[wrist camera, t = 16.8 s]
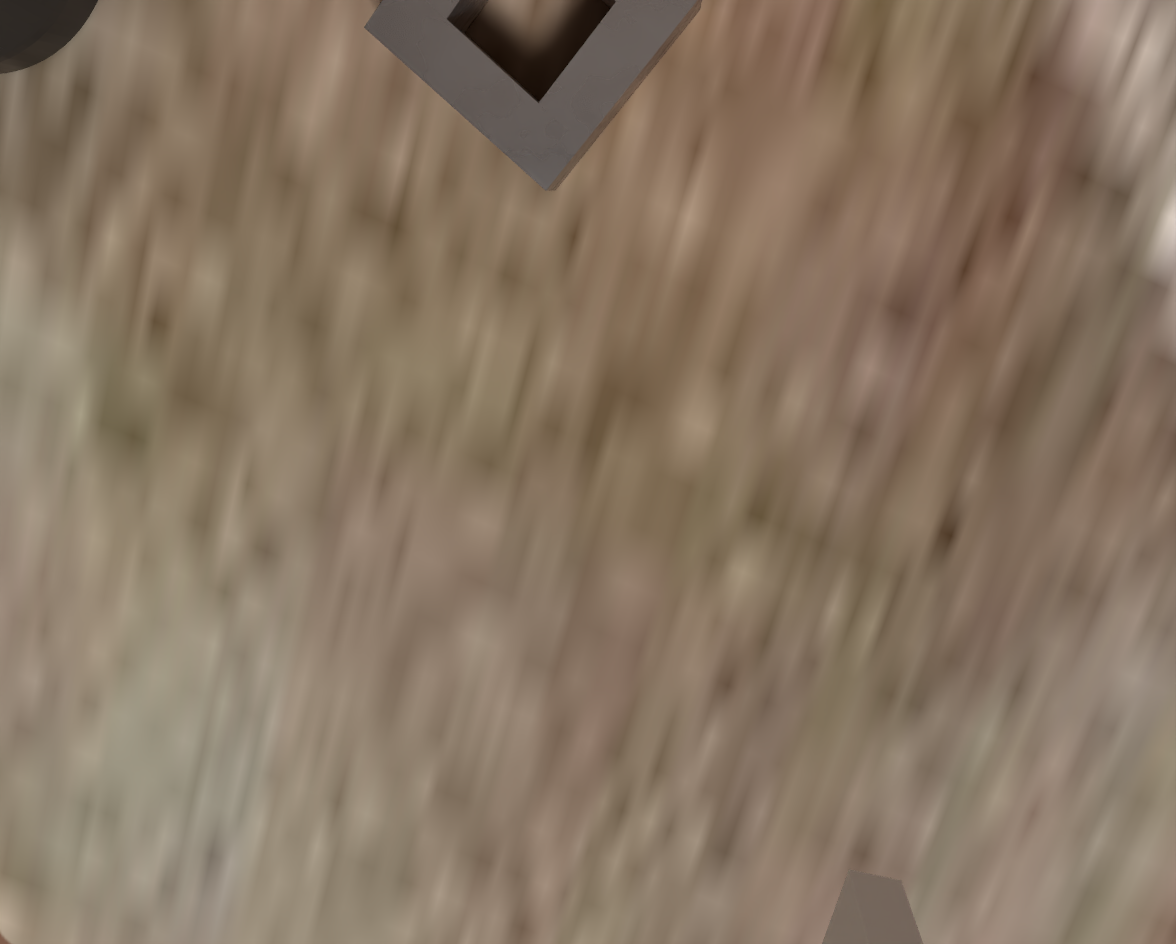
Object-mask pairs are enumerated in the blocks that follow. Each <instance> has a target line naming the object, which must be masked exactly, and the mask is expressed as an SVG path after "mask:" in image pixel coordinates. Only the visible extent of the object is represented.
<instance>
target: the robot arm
mask: <svg viewBox="0 0 1176 944" xmlns="http://www.w3.org/2000/svg"><path fill="white" fill-rule="evenodd" d="M97 1H98V0H0V74H1V73H8V72H13V71H17V70H21V69H24V68H27V67H30V66H32V65H35V64H37V63H39V62H41V61H43V60H45V59H47V58H48V57H50V56H51V55H53V54H54V53H56V52H57V51H58V50H60V49H61V48H62V47H64V46H65V45H66V44H67V43H68V42H69V41H70V40H71V39H72V38H73V37H74V36H75V35H76V33H77V32H78V31H79V30H80V29H81V27H82V26H83V25H84V23H85V22H86V20H87V19H88V17H89V16H90V14H91V12H92V11H93V9H94V7H95V5H96V3H97ZM822 944H923V942H922V939H921V936H920V933H919V930H918V927H917V925H916V922H915V919H914V916H913V913H912V910H911V907H910V904H909V901H908V898H907V895H906V892H905V890H904V887H903V884H902V881H901V880H897V879H892V878H887V877H883V876H878V875H873V874H868V873H864V872H859V871H854V870H850V869H849V871H848V874H847V876H846V879H845V882H844V885H843V887H842V890H841V893H840V896H839V899H838V901H837V904H836V907H835V910H834V912H833V915H832V918H831V921H830V923H829V926H828V929H827V932H826V934H825V937H824V940H823V943H822Z"/></svg>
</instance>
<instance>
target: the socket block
mask: <svg viewBox="0 0 1176 944" xmlns="http://www.w3.org/2000/svg"><path fill="white" fill-rule="evenodd" d="M487 1H488V0H382V2H381V3H380V5H379V6H378V8H377V9H376V11H375V12H374V14H373V15H372V16H371V18H370V19H369V21H368V22H367V24H366V25H365V27H364V28H365V29H366V30H368V31H369V32H370V33H371V34H372V35H373V36H374V37H375V38H376V39H378V40H379V41H380V42H381V43H382V44H383V45H384V46H385V47H387V48H388V49H389V50H390V51H391V52H392V53H393V54H394V55H395V56H397V57H398V58H399V59H400V60H401V61H402V62H403V63H404V64H405V65H407V66H408V67H409V68H410V69H411V70H412V71H413V72H414V73H415V74H417V75H418V76H419V77H420V78H421V79H422V80H423V81H424V82H425V83H427V84H428V85H429V86H430V87H431V88H432V89H433V90H434V91H436V92H437V93H438V94H439V95H440V96H441V97H442V98H443V99H444V100H446V101H447V102H448V103H449V104H450V105H451V106H452V107H453V108H454V109H456V110H457V111H458V112H459V113H460V114H461V115H462V116H463V117H464V118H466V119H467V120H468V121H469V122H470V123H471V124H472V125H473V126H475V127H476V128H477V129H478V130H479V131H480V132H481V133H482V134H483V135H485V136H486V137H487V138H488V139H489V140H490V141H491V142H492V143H493V144H495V145H496V146H497V147H498V148H499V149H500V150H501V151H502V152H503V153H505V154H506V155H507V156H508V157H509V158H510V159H511V160H512V161H514V162H515V163H516V164H517V165H518V166H519V167H520V168H521V169H522V170H524V171H525V172H526V173H527V174H528V175H529V176H530V177H531V178H532V179H534V180H535V181H536V182H537V183H538V184H539V185H540V186H541V187H542V188H544V189H545V190H546V191H550V190H556V189H557V188H558V187H559V185H560V184H561V183H562V182H563V180H564V179H565V178H566V177H567V175H568V174H569V173H570V172H571V170H572V169H573V168H574V167H575V165H576V164H577V163H578V162H579V160H580V159H581V158H582V157H583V155H584V154H585V153H586V151H587V150H588V149H589V148H590V146H591V145H592V144H593V143H594V141H595V140H596V139H597V138H598V136H599V135H600V134H601V133H602V131H603V130H604V129H605V128H606V126H607V125H608V124H609V123H610V121H611V120H612V119H613V118H614V116H615V115H616V114H617V113H618V111H619V110H620V109H621V108H622V106H623V105H624V104H625V103H626V101H627V100H628V99H629V98H630V96H631V95H632V94H633V93H634V91H635V90H636V89H637V88H638V86H639V85H640V84H641V83H642V81H643V80H644V79H645V78H646V76H647V75H648V74H649V73H650V71H651V70H652V69H653V68H654V66H655V65H656V64H657V63H658V61H659V60H660V59H661V58H662V56H663V55H664V54H665V53H666V51H667V50H668V49H669V48H670V46H671V45H672V44H673V43H674V41H675V40H676V39H677V38H678V36H679V35H680V34H681V33H682V31H683V30H684V29H685V28H686V26H687V25H688V24H689V23H690V21H691V20H692V19H693V18H694V16H695V15H696V14H697V13H698V11H699V10H700V7H701V2H702V0H602V1H603V2H604V3H605V4H606V5H608V6H609V7H610V8H611V9H610V10H609V12H608V13H607V14H606V15H605V17H604V18H603V19H602V21H601V22H600V23H599V25H598V26H597V27H596V29H595V30H594V31H593V32H592V34H591V35H590V36H589V38H588V39H587V40H586V42H585V43H584V44H583V46H582V47H581V48H580V49H579V51H578V52H577V53H576V55H575V56H574V57H573V59H572V60H571V61H570V63H569V64H568V65H567V66H566V68H565V69H564V70H563V72H562V73H561V74H560V76H559V77H558V78H557V80H556V81H555V82H554V83H553V85H552V86H551V87H550V89H549V90H548V91H547V93H546V94H545V95H544V97H543V98H542V99H541V101H540V102H539V101H538V100H537V99H536V98H535V97H534V96H533V95H532V94H531V93H530V92H529V91H527V90H526V89H525V88H524V87H523V86H522V85H521V84H520V83H519V82H518V81H516V80H515V79H514V78H513V77H512V76H511V75H510V74H509V73H508V72H507V71H506V70H504V69H503V68H502V67H501V66H500V65H499V64H498V63H497V62H496V61H495V60H494V59H492V58H491V57H490V56H489V55H488V54H487V53H486V52H485V51H484V50H483V49H482V48H480V47H479V46H478V45H477V44H476V43H475V42H474V41H473V40H472V39H471V38H470V37H468V36H467V35H466V34H465V32H466V31H467V29H468V28H469V26H470V25H471V24H472V22H473V21H474V19H475V18H476V17H477V15H478V14H479V12H480V11H481V10H482V8H483V7H484V5H485V4H486V3H487Z"/></svg>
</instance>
